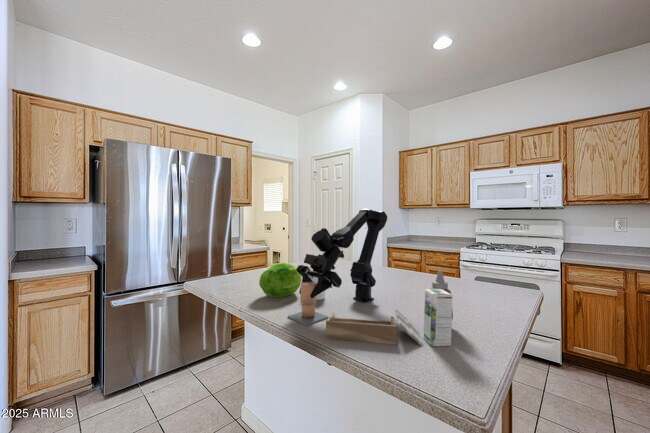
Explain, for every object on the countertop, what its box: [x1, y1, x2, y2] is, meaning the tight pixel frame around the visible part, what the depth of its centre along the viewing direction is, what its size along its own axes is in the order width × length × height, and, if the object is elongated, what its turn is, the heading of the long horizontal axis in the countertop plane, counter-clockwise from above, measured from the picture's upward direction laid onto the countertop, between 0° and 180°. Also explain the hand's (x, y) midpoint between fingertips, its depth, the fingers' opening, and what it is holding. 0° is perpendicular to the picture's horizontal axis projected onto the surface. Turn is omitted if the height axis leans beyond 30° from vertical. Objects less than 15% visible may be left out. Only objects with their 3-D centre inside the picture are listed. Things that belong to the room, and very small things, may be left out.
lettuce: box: [259, 262, 302, 299], centre depth 124 cm, size 15×23×16 cm
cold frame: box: [325, 309, 424, 346], centre depth 87 cm, size 14×27×6 cm, turn 81°
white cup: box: [311, 277, 326, 301], centre depth 121 cm, size 8×8×10 cm
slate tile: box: [287, 311, 330, 327], centre depth 98 cm, size 10×10×1 cm
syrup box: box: [423, 288, 453, 347], centre depth 81 cm, size 6×6×14 cm
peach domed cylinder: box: [300, 281, 317, 318], centre depth 98 cm, size 5×5×11 cm
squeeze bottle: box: [429, 270, 454, 320], centre depth 92 cm, size 8×8×18 cm
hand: (305, 295), depth 97 cm, fingers closed on peach domed cylinder, 5 cm apart
